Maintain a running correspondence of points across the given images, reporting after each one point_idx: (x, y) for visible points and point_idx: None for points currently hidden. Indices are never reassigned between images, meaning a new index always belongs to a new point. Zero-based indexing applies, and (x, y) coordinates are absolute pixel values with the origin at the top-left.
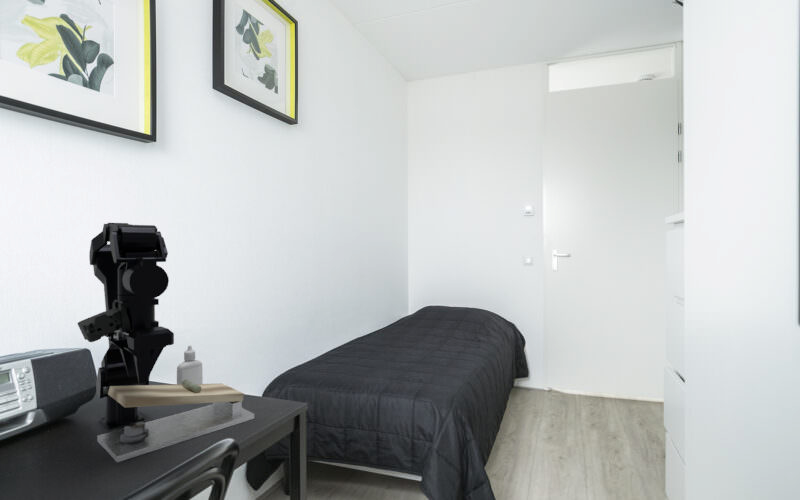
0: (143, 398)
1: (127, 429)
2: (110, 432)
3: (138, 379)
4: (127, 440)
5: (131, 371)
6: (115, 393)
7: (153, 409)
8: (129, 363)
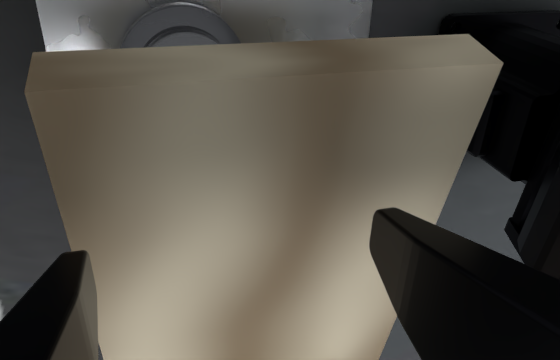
0: (55, 196)
1: (161, 42)
2: (367, 2)
3: (54, 271)
4: (135, 24)
5: (392, 253)
6: (335, 60)
7: (495, 194)
8: (450, 297)
